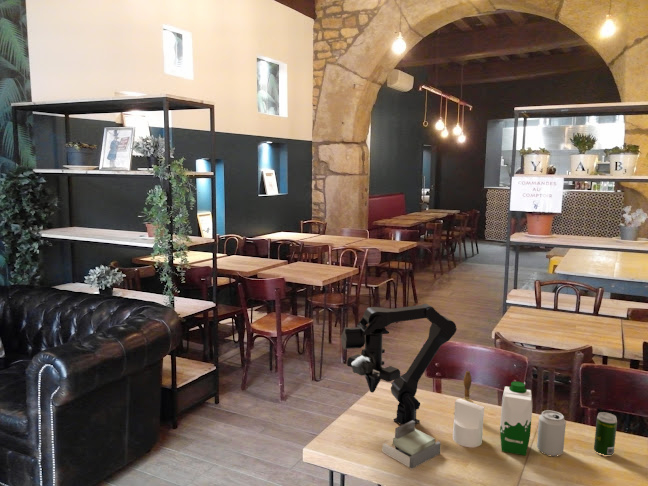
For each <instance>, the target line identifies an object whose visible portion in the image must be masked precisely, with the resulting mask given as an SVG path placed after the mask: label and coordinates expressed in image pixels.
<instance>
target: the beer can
mask: <svg viewBox="0 0 648 486" xmlns="http://www.w3.org/2000/svg"><path fill="white" fill-rule="evenodd" d="M617 425H618V420H617V416H616V415H615V414H612V413H609V412H604V411H603V412H598V413H597V416H596V424H595V434H594V442H593V443H594V444H593V450H594V452H595V451H596V452H598V453H601V454H604V455H612V454H613V453H615V444H616V437H617V427H618V426H617ZM596 452H595V453H596ZM613 455H614V454H613ZM613 455H612V456H613Z"/></svg>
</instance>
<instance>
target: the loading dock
mask: <svg viewBox="0 0 648 486" xmlns="http://www.w3.org/2000/svg"><path fill="white" fill-rule="evenodd" d="M381 451H382V453H384V454H385V455H387V456H389V457H390V458H392V459H394V460H396V461H398V462H399V463H401V464H402V465H405V466H406V467H407V468H409V469H412V470H413V469H415V468H417V467H419V466H420V465H422V464H424V463H426V462H428V461H430V460H431V459H433V458H435V457H437V456H438V455H440V454H441V442H440V441H435V443H434V444H432V445H430V446H428V447H426V448H425V449H423V450H421V451H419V452H417V453H415V454H413V455H411V456H410V455H409V454H408V453H407V452H405V451H403V450H401V449H398V450H397V449H396V448H395V447H393V446H391V445H389V444H387V443H385V442H384V443H383V444H382V450H381Z"/></svg>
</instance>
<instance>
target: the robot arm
mask: <svg viewBox="0 0 648 486" xmlns="http://www.w3.org/2000/svg"><path fill="white" fill-rule="evenodd" d="M420 319H421V320H423V319H426V320H427V321H428V322H430V327H429V331H428V337H427V339H426V340H425V342H424V344H423V346H422V347H421V348H420V350H419V351H418V354H417V355H416V356H415V358H414V360H413V361H412V363H411V364H410V366H409V367H408V369H407V371H406V372H404V374H402V375H401V370H400V369H399V368H398V367H394V366H391V365H389V366H387V367H385V361H383V354H385V351H386V350H385V349H384V348H383V341H384V340H383V337H384V335H387V334H390V331H389V330H388V329H387V328H386V327H389V326H390V325H392V324H394V323H401V322H405V321H406V322H407V321H414V320H420ZM457 329H458V328H457V324H456V323H455V322H454V321H453V320H451V319H449V317H447V316H445V315H442V314H441V313H439V312H438V311H437V310H436V308H434V307H433V306H432V305H430V304H428V303H423V304H419V305H413V306H411V305H410V306H403V307H396V308H385V307H377V306H371V307H370V306H369V307H367V308H366V309H365V311H364V312H363V316H362V317H361V319H360V321H358V323H357V324H356V327H347V326H346V327H343V331H342V334H341V336H340V337H341V338H340V341H341V346H342V349H343V350H353V349H362V348H363V349H362V350H361V352H360V353H361V354H359V353H358V354H355V355H352V356H349V357H347V360H346V366H347V367H349V368H351V369H352V372H353V373H354V374H358V375H359V376H361V377H362V376H364V377H365V380H366V383H367V386H368V389H369V392H370V393H375V392H376V389H377V387H378V385H379V383H380V382H381V380H382V381H386V382H391V386H390V392H391V394H392V396H393V397H394V398H395V400H396V401H397V402H398V404H397V409H396V417H395V418H393V422H395V423H397V424H399V425H400V426H401V425H403V424H405V423H408V422H410V421H412V420H413V421H415V425H417V424H418V423H420V420H419V419H418V418H417V410H419V409H420V406H421V402H420V401H419V400H418V399H417V398H416V397H415V396H416V394H417V390H418V385H419V381H420V379H421V378H422V376H423V374H424V373H425V372H426V370H427V368H428V366H429V365H430V364H431V362H432V360H433V359H434V357H435V355H436V354H437V352H438V351H439V349H440V348H441V346H443V345H444V344H446V343H447V342H449V341H450V340H451V339H452V338H453V337H454V335H455V334H456V332H457V331H458V330H457Z"/></svg>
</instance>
